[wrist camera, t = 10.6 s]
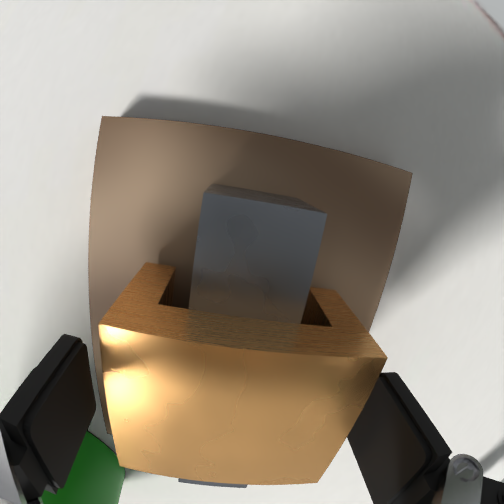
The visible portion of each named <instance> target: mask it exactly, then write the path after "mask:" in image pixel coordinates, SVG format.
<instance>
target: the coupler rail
mask: <svg viewBox="0 0 504 504" xmlns="http://www.w3.org/2000/svg"><path fill="white" fill-rule="evenodd" d="M326 218H327V213H325V212H323V211H321V210H319V209H317V208H316V207H314V206H312V205H310V204H308V203H306V202H304V201H302V200H300V199H298V198H295V197H289V196H284V195H279V194H273V193H268V192H262V191H256V190H250V189H244V188H238V187H232V186H226V185H219V184H213V183H212V184H211V185H210V186H209V187H208V188H207V189H206V190H205V191H204V193H203V199H202V206H201V212H200V219H199V227H198V234H197V241H196V249H195V257H194V265H193V273H192V282H191V291H190V300H189V310H196V311H202V312H209V313H215V314H222V315H229V316H237V317H244V318H252V319H260V320H268V321H277V322H286V323H296V324H300V323H301V320H302V316H303V312H304V309H305V305H306V301H307V297H308V293H309V290H310V286H311V282H312V278H313V274H314V270H315V266H316V262H317V257H318V253H319V249H320V245H321V240H322V236H323V231H324V227H325V222H326ZM179 482H183V483H191V484H199V485H209V486H221V487H237V488H246V487H247V485H248V484H229V483H215V482H205V481H196V480H188V479H181V478H179Z"/></svg>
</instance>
